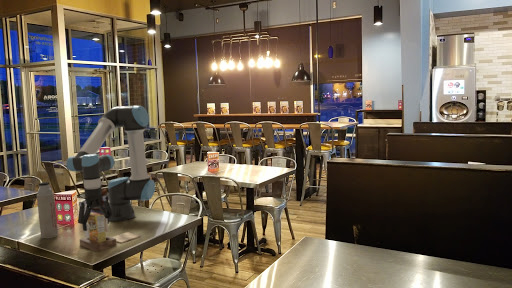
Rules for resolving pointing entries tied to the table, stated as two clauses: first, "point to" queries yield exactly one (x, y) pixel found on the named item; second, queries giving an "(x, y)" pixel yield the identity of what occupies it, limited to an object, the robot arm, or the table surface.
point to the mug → (104, 193)
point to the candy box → (96, 227)
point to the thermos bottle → (47, 211)
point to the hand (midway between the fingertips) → (97, 234)
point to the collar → (98, 244)
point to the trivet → (125, 237)
